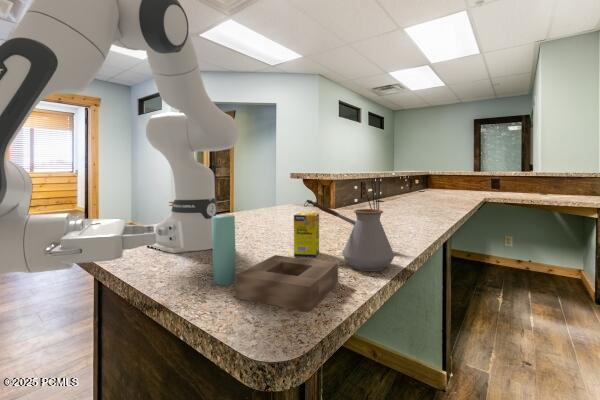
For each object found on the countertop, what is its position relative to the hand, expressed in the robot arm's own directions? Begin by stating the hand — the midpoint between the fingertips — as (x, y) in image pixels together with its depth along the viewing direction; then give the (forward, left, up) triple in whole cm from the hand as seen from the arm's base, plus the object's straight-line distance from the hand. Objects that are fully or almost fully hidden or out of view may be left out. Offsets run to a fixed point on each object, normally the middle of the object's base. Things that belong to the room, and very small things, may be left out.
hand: (154, 233), depth 55 cm
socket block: (+21, +11, -11) cm, 26 cm away
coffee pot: (+26, +31, -11) cm, 42 cm away
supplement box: (+14, +35, -11) cm, 39 cm away
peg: (+7, +10, -11) cm, 16 cm away
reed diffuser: (+29, +47, -11) cm, 56 cm away
